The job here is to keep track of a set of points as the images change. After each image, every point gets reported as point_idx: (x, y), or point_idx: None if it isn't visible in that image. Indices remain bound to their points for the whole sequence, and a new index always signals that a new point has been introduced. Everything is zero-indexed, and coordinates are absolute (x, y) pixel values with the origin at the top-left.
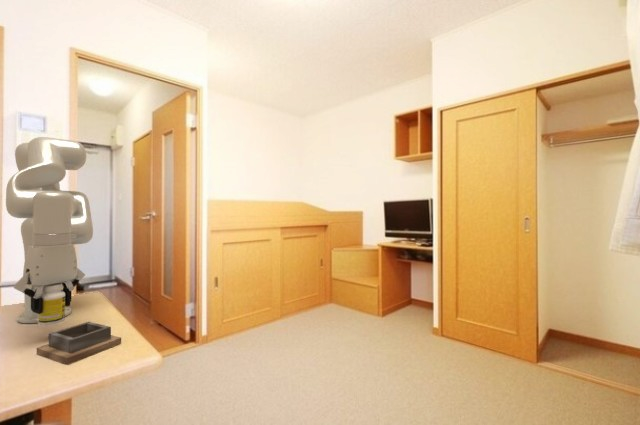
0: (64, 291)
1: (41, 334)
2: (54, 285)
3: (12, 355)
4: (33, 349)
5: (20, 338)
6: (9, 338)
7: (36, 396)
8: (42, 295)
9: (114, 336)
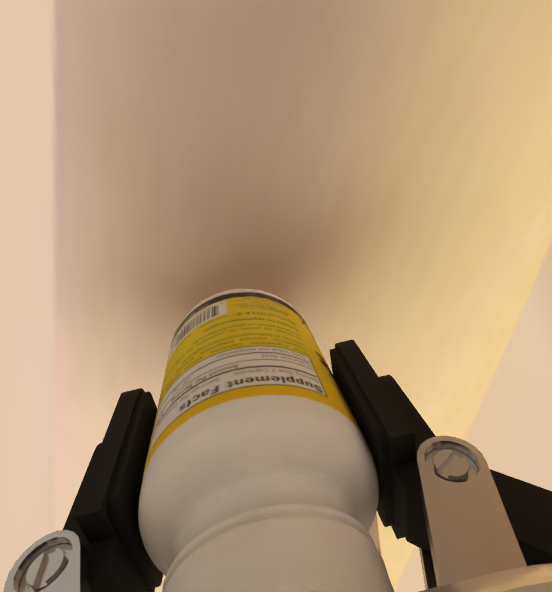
0: (389, 488)
1: (219, 194)
2: None
3: (78, 396)
4: (152, 387)
5: (124, 170)
6: (74, 110)
7: None
8: (164, 574)
9: (374, 533)
